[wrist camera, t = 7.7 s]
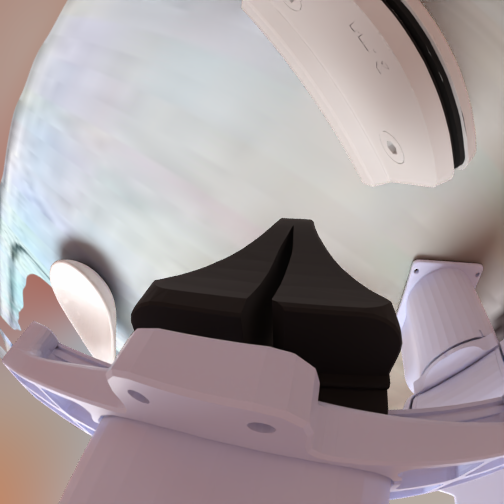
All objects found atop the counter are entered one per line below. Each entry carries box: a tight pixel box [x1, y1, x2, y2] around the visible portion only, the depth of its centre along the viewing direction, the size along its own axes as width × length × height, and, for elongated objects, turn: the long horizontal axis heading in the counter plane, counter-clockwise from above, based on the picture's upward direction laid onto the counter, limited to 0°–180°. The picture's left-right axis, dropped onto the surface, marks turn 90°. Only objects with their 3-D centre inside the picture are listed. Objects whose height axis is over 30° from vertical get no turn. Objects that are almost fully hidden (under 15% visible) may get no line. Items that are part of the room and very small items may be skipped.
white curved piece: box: [241, 0, 476, 187], centre depth 12 cm, size 17×5×10 cm, turn 35°
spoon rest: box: [50, 260, 116, 364], centre depth 34 cm, size 24×12×7 cm, turn 22°
